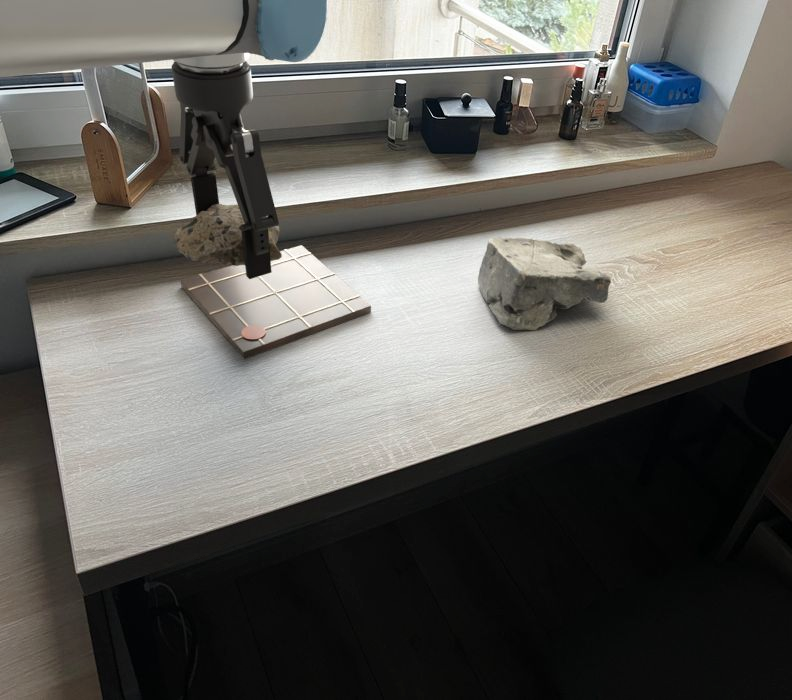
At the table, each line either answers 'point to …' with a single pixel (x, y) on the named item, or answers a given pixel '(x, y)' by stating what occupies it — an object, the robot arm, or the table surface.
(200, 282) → the grid board
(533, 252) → the grey broken concrete chunk
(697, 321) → the table surface
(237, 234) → the rock
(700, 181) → the table surface
